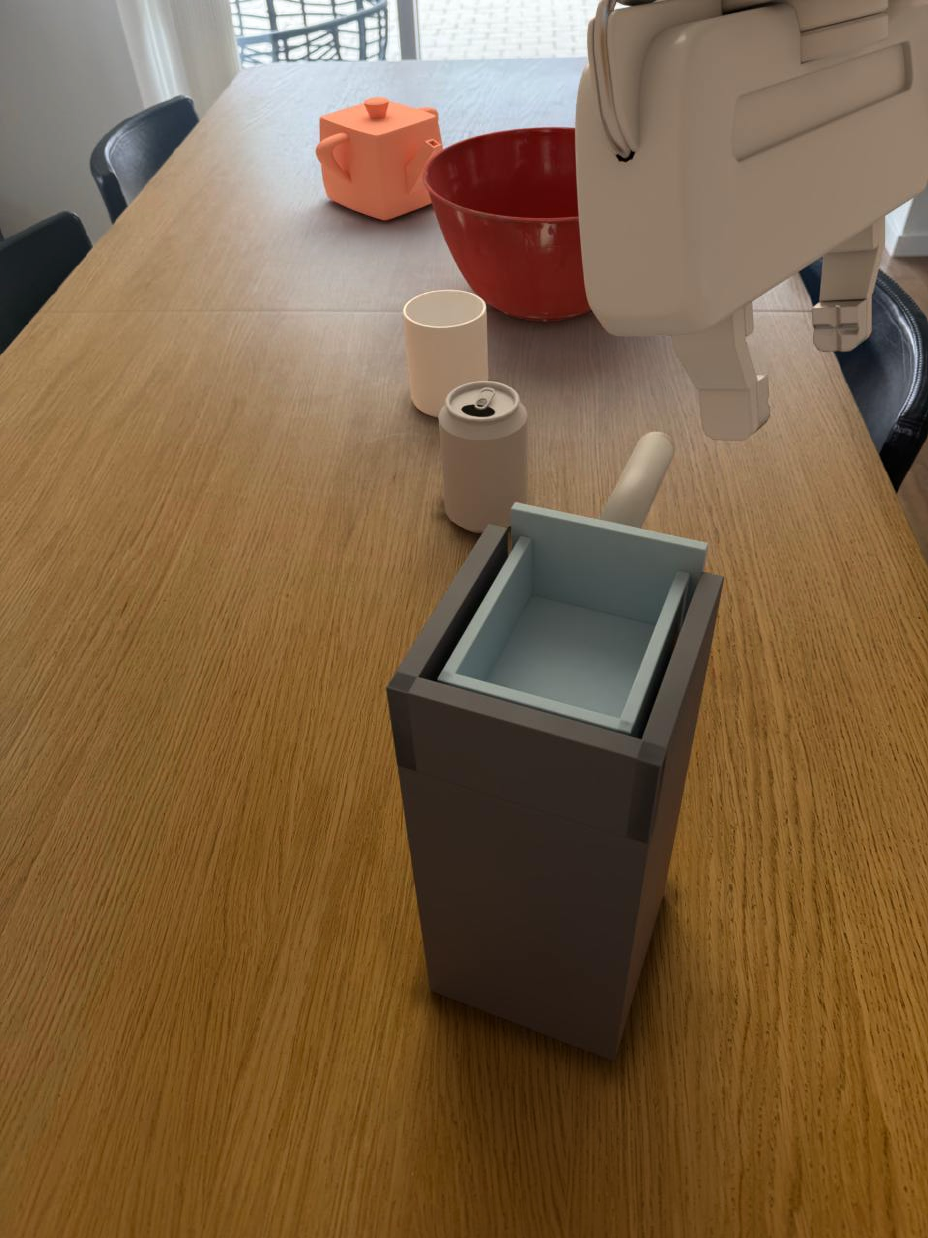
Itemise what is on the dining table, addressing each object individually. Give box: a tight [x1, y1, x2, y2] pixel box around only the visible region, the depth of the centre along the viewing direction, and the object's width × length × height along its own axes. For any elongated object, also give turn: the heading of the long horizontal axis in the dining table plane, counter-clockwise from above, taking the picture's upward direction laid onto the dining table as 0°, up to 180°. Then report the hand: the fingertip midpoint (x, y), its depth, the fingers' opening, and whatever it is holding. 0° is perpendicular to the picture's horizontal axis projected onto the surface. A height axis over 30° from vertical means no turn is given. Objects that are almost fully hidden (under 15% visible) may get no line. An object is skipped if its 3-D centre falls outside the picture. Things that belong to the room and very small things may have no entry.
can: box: [437, 380, 529, 534], centre depth 84 cm, size 8×8×12 cm
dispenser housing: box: [385, 524, 725, 1062], centre depth 49 cm, size 11×11×26 cm
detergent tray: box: [437, 431, 709, 739], centre depth 45 cm, size 9×20×6 cm, turn 157°
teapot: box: [315, 96, 444, 221], centre depth 138 cm, size 20×22×14 cm
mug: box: [402, 289, 489, 418], centre depth 100 cm, size 12×8×10 cm
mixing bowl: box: [423, 126, 592, 323], centre depth 114 cm, size 28×28×16 cm
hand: (794, 386), depth 35 cm, fingers open, 8 cm apart
